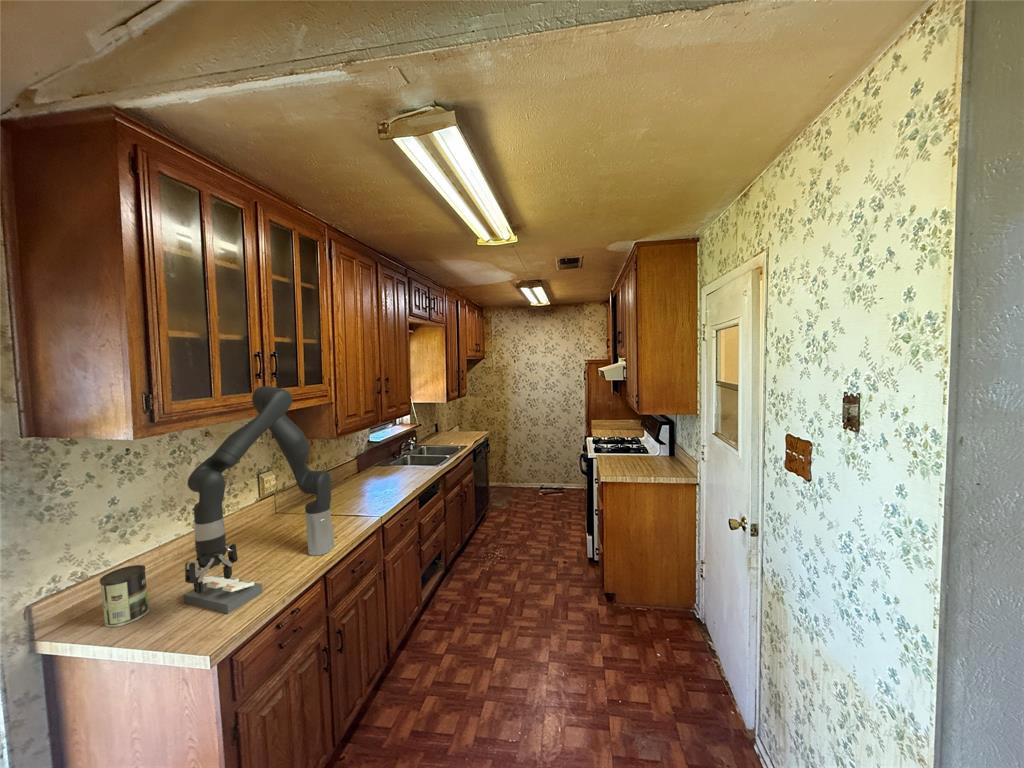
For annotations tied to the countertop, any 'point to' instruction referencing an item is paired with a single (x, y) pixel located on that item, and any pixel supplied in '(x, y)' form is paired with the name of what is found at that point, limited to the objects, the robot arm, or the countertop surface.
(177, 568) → the countertop surface
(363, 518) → the countertop surface
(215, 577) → the rocker
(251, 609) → the countertop surface
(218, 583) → the rocker
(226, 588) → the rocker
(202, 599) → the rocker switch panel
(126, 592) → the coffee can
